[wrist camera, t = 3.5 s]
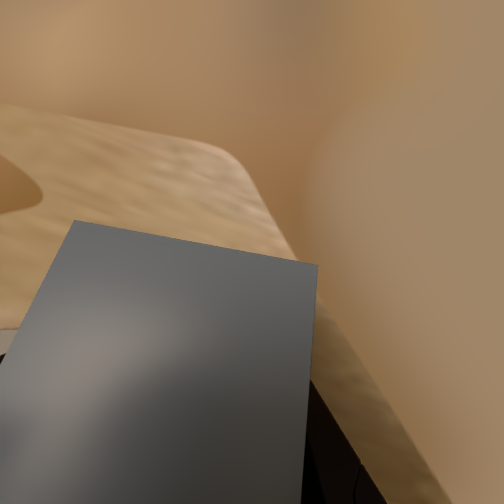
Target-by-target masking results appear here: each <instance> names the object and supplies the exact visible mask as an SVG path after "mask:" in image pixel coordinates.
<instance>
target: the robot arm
mask: <svg viewBox="0 0 504 504" xmlns="http://www.w3.org/2000/svg"><path fill="white" fill-rule="evenodd" d="M5 355H6V353H5V354H2V355H0V364H1V362H2V360H3V359H4V357H5ZM360 464H361V461H360V459H359V458H358V456H357V455H356V453H355V451H354V450H353V448H352V446H351V445H350V443H349V442H348V440H347V438H346V437H345V435H344V433H343V432H342V430H341V429H340V427H339V425H338V424H337V422H336V420H335V419H334V417H333V415H332V414H331V412H330V411H329V409H328V407H327V406H326V404H325V402H324V401H323V399H322V398H321V396H320V394H319V393H318V391H317V389H316V388H315V386H314V384H313V383H312V381H311V380H310V382H309V395H308V409H307V423H306V436H305V450H304V463H303V477H302V491H301V504H387V502H386V501H385V499H384V498H383V496H382V495H381V493H380V491H379V490H378V488H377V487H376V485H375V484H374V482H373V480H372V479H371V477H370V476H369V474H368V472H367V471H366V469H365V467H364V466H363V465H362V464H361V465H360Z"/></svg>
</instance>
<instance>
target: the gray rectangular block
mask: <svg viewBox="0 0 504 504" xmlns="http://www.w3.org/2000/svg"><path fill="white" fill-rule="evenodd" d="M317 273H318V265H315V264H310V263H304V262H299V261H293V260H288V259H283V258H277V257H272V256H266V255H261V254H256V253H250V252H245V251H239V250H234V249H229V248H223V247H218V246H212V245H207V244H202V243H196V242H191V241H185V240H180V239H175V238H169V237H164V236H158V235H153V234H148V233H142V232H137V231H131V230H126V229H121V228H115V227H110V226H104V225H99V224H94V223H88V222H83V221H77V220H74V222H73V224H72V226H71V228H70V230H69V231H68V233H67V235H66V237H65V239H64V241H63V243H62V245H61V247H60V249H59V251H58V253H57V255H56V257H55V259H54V261H53V263H52V265H51V267H50V269H49V271H48V273H47V274H46V276H45V278H44V280H43V282H42V284H41V286H40V288H39V290H38V292H37V294H36V296H35V298H34V300H33V302H32V304H31V306H30V308H29V310H28V312H27V314H26V316H25V317H24V319H23V321H22V323H21V325H20V327H19V329H18V331H17V333H16V335H15V337H14V339H13V341H12V343H11V345H10V347H9V349H8V351H7V353H6V355H5V357H4V359H3V360H2V362H1V364H0V504H301V491H302V477H303V463H304V450H305V436H306V423H307V409H308V395H309V382H310V368H311V355H312V341H313V327H314V314H315V300H316V286H317Z"/></svg>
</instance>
